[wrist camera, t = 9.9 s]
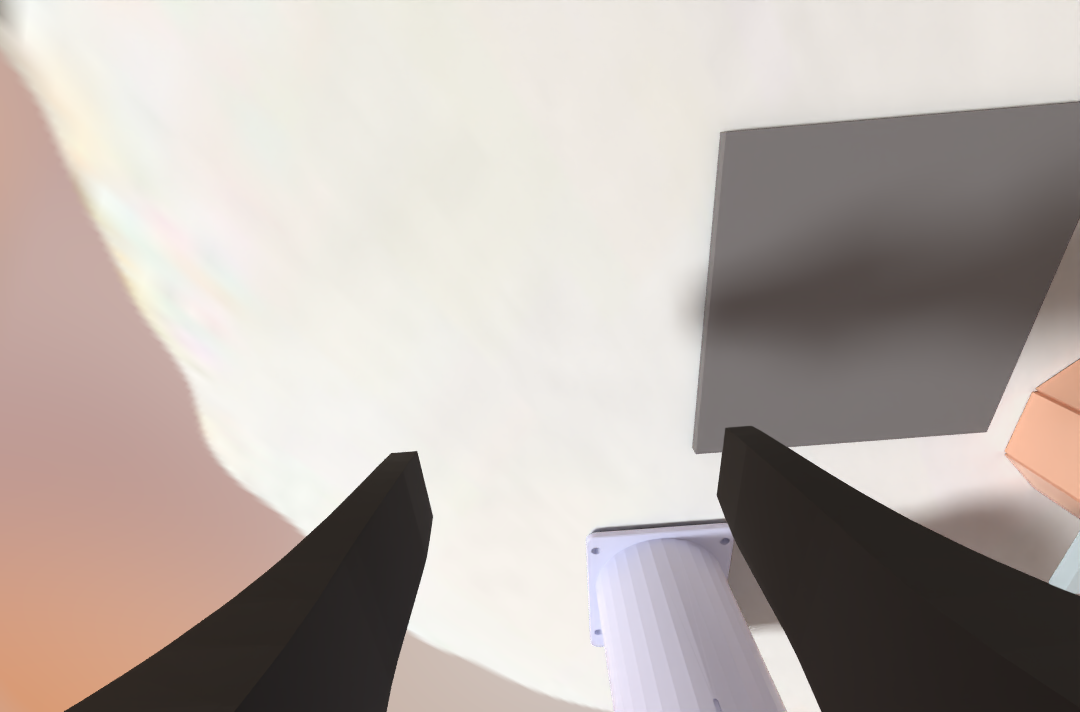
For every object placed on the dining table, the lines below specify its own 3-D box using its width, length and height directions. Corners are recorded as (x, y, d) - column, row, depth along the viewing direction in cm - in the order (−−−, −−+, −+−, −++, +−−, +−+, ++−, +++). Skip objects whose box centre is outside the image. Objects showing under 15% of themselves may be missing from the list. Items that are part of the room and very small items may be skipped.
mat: (977, 426, 22) (986, 432, 21) (692, 447, 22) (695, 453, 21) (1114, 99, 16) (1131, 97, 15) (720, 132, 16) (726, 132, 15)
